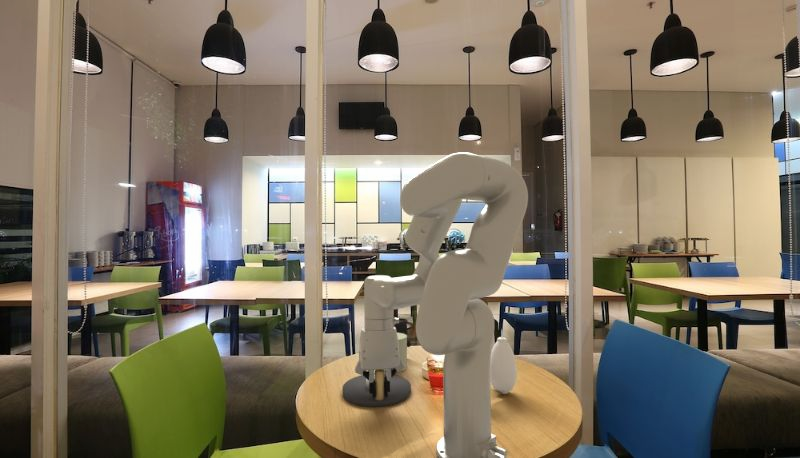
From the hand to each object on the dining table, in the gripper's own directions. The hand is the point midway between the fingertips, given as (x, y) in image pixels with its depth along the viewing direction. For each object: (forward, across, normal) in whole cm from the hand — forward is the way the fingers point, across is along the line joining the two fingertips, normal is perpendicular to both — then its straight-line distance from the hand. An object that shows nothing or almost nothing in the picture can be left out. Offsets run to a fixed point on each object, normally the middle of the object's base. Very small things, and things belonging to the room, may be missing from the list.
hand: (379, 394), depth 95 cm
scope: (+4, -13, -38) cm, 41 cm away
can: (+4, -9, -26) cm, 27 cm away
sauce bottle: (+4, -36, -2) cm, 36 cm away
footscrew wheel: (+2, 0, -8) cm, 8 cm away
